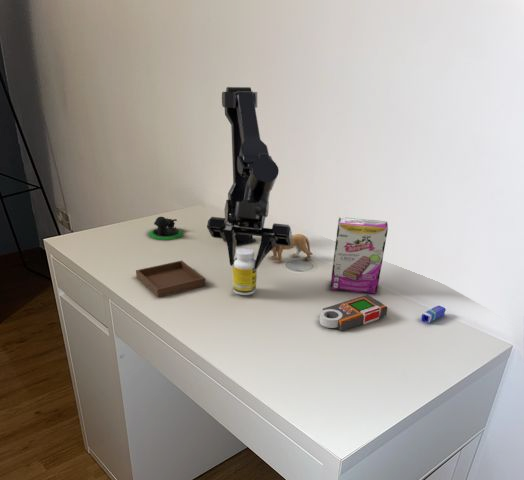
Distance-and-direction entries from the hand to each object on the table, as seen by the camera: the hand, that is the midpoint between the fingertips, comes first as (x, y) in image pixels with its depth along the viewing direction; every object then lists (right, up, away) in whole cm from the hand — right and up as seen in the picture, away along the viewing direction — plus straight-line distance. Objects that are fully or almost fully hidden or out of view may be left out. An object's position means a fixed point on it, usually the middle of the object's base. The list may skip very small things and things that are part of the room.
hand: (243, 266), depth 120 cm
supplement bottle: (0, -5, +5) cm, 7 cm away
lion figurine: (+11, +5, +22) cm, 25 cm away
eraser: (+41, -12, -3) cm, 43 cm away
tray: (-18, -2, +9) cm, 20 cm away
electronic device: (+23, -12, -4) cm, 26 cm away
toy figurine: (-24, +15, +36) cm, 45 cm away
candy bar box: (+26, -4, +9) cm, 28 cm away
